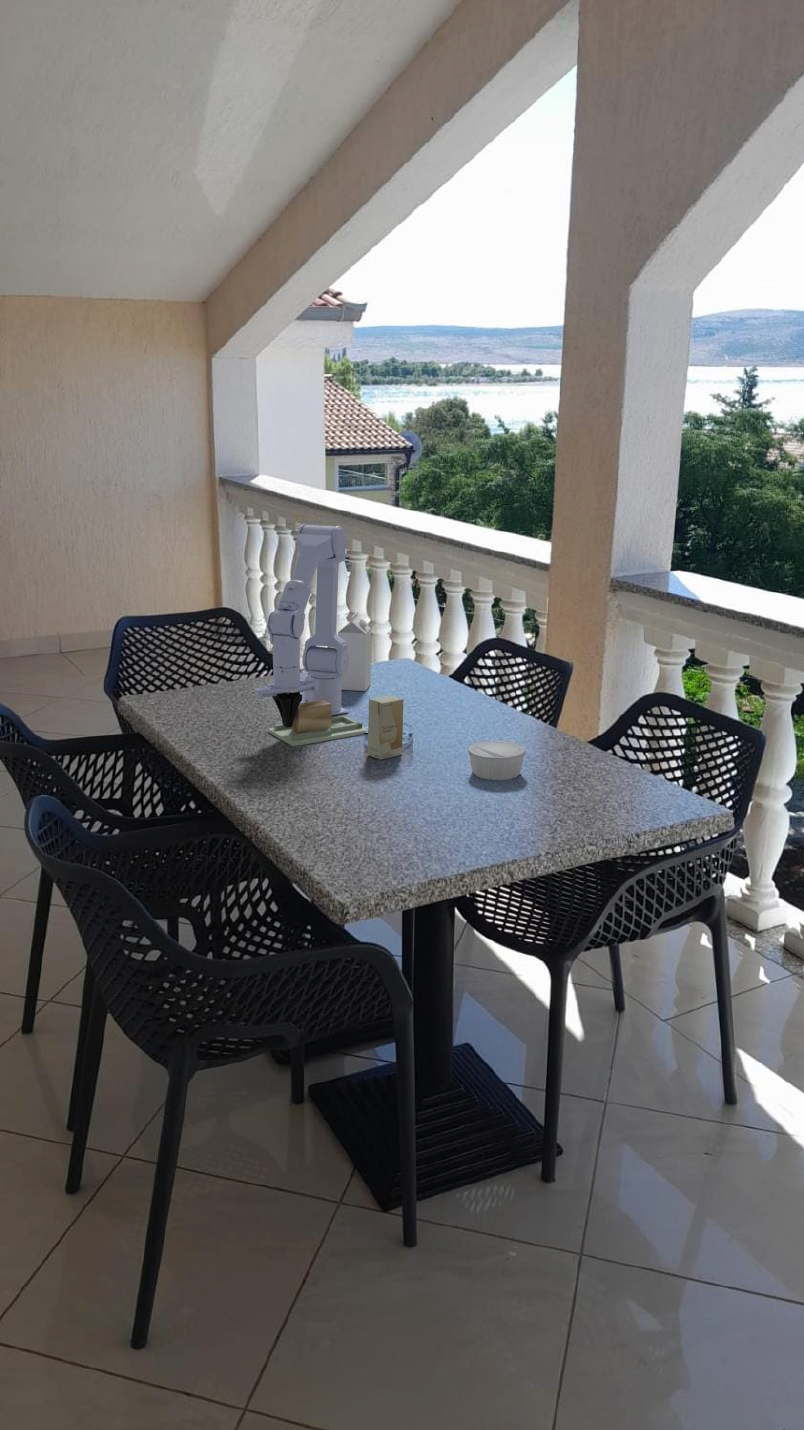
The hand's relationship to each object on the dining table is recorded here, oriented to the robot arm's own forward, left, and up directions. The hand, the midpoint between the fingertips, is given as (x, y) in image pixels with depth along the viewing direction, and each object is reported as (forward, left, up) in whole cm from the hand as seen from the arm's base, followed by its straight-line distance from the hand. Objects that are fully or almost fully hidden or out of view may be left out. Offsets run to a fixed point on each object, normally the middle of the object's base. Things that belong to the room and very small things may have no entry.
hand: (287, 726), depth 242 cm
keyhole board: (0, +8, -3) cm, 9 cm away
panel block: (0, +6, -2) cm, 6 cm away
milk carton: (-30, +34, -3) cm, 46 cm away
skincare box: (+21, +12, -3) cm, 24 cm away
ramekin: (+42, +25, -3) cm, 49 cm away
